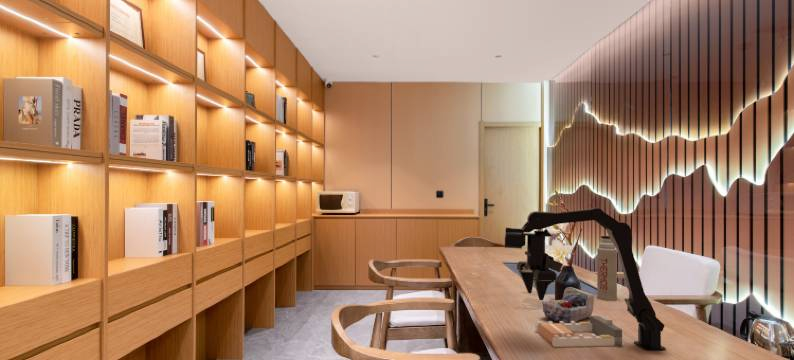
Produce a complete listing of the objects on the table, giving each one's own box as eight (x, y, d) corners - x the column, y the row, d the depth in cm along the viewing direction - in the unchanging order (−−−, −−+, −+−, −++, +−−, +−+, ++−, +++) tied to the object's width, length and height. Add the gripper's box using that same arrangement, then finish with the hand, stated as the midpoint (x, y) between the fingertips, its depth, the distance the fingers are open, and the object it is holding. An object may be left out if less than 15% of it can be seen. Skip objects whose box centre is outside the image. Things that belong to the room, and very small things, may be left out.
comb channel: (622, 345, 138) (622, 324, 138) (554, 346, 136) (554, 325, 136) (596, 329, 153) (596, 311, 153) (535, 331, 151) (535, 312, 151)
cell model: (598, 289, 167) (568, 298, 155) (598, 318, 167) (569, 329, 155) (566, 283, 177) (537, 291, 165) (567, 310, 177) (537, 320, 165)
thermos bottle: (608, 301, 192) (608, 237, 192) (593, 297, 199) (593, 235, 199) (621, 299, 195) (620, 236, 196) (605, 295, 202) (605, 234, 203)
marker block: (573, 344, 139) (573, 332, 139) (552, 344, 139) (552, 333, 139) (559, 333, 149) (559, 323, 149) (539, 334, 149) (539, 323, 149)
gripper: (573, 254, 136) (572, 304, 136) (547, 245, 155) (546, 289, 155) (538, 253, 135) (538, 304, 135) (516, 245, 154) (515, 289, 154)
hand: (535, 296), depth 145 cm, fingers open, 9 cm apart
